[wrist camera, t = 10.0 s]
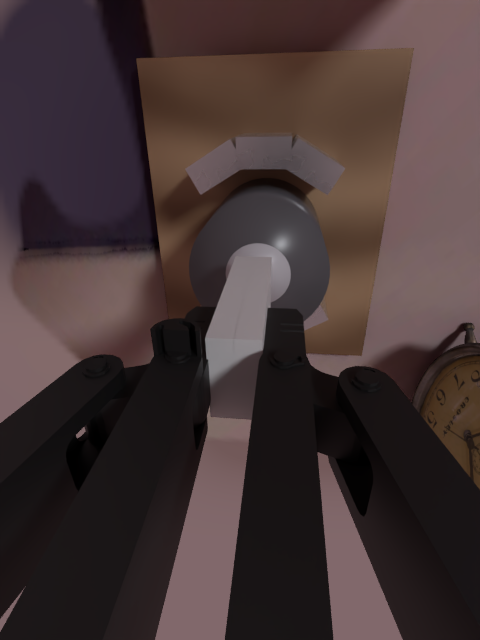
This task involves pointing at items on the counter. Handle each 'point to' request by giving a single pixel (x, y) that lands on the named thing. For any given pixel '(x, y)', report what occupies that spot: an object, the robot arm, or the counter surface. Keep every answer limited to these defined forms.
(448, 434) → the alarm clock
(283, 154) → the grey curved walls
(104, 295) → the counter surface
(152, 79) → the board
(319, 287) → the dark grey cylinder
